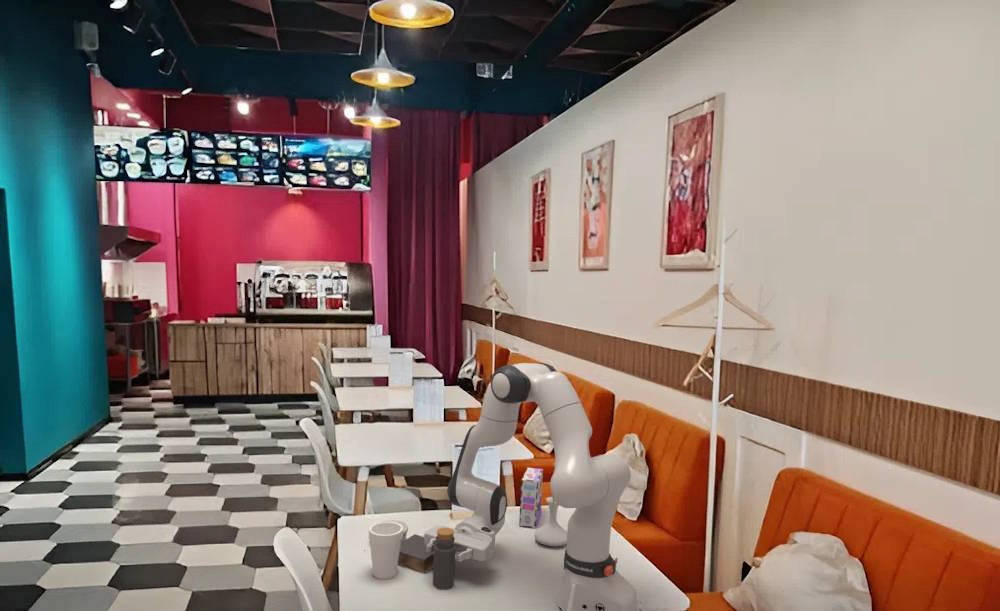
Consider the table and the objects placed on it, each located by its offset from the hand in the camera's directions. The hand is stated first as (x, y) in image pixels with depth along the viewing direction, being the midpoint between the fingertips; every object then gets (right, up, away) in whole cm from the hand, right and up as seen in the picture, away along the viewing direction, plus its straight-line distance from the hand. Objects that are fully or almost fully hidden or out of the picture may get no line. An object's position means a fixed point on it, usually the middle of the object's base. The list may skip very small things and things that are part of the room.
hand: (443, 553), depth 173 cm
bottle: (0, -9, +1) cm, 9 cm away
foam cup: (-17, -8, +6) cm, 20 cm away
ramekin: (-19, -7, +25) cm, 32 cm away
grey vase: (+32, -8, +32) cm, 46 cm away
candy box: (+26, -7, +48) cm, 55 cm away
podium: (-8, -8, +15) cm, 19 cm away
